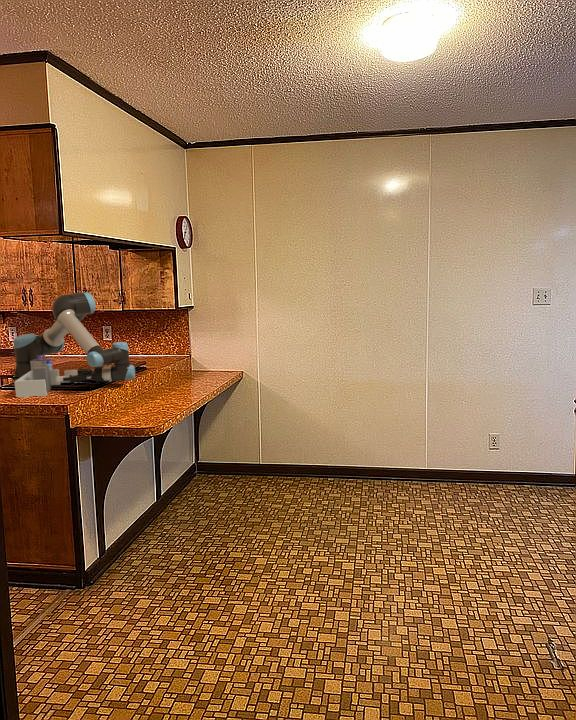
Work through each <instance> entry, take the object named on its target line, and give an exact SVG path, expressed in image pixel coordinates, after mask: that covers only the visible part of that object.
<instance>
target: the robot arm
mask: <svg viewBox="0 0 576 720" xmlns="http://www.w3.org/2000/svg"><path fill="white" fill-rule="evenodd" d="M51 308H52V309H51V312H52V314H53V317H54V319H55V322H54V323H53V324H52V325H51V327H50V328H47V329H45V330H43V331H44V332H43V333H42V334H38V335H36V334H35V333H28V334H27V333H26V334H22V335H18V336H16V337H15V338H14V339H13V350H14V357H15V369H14V374H13V376H14V377H19V378H21V377H22V376H24V375H25V374H27V373H28V372H30V371H31V363H30V361H31V360H34V359H38V357H39V355H45V356H47V355H54V354H57V353H60V352H61V351H63V350H64V348H65V336H67V334H68V333H69V334H70V335H71V336H72V338H73V339H74V340H75V342H76V343H77V344H78V345H79V347H80V348H81V349H82V350H83V351H84V353H85V354H86V357H85V358H86V362H87V364H88V366H89V367H91V368H90V369H89V368H79V369H70V370H69V369H65V370H63V372H64V373H63V375H61V376H60V375H59V376H57V382H60V383H63V382H64V383H66V382H70V383H76V382H82V381H83V382H85V381H91V380H92V379H94V380H95V382H96V383H98V382H99V383H100V382H109V383H111V382H113V381H114V382H115V381H132V380H134V379H135V378H136V368H135V366H134V365H133V364H130V354H129V353H130V352H129V351H130V350H129V345H128V343H127V342H125V341H116V342H113V343H112V347H111V348H110V347H109V348H106V349H105V348H103V347H101V345H100V344H99V343H98V342H97V340H96V339H95V338H94V337H93V336H92V334H91V332H89V331H88V330H87V328H86V327H85V326H84V325H83V323H82V322H81V321H82V320H83V319H84V318H86V316H87V315H93V314H94V313H95V310H96V301H95V299H94V297H93V295H92V293H89V292H83V291H82V292H79V293H77V292H76V293H69V294H68V293H67V294H61V295H59V296H57V298H56V299H54V301H53V303H52V307H51ZM111 364H113V365H111ZM107 365H108V366H107ZM19 378H14V380H15V381H16V380H18V379H19Z"/></svg>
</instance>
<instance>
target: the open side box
mask: <svg viewBox="0 0 576 720" xmlns="http://www.w3.org/2000/svg"><path fill="white" fill-rule="evenodd" d="M49 373H50V382H51V386H59V385H61V382H57V376H60V369H59V368H58V369H57V368H56V369H53V370H49ZM14 389H15V397H19V398H31V397H30V396H38V397H47V396H48V392H47V391H46V383H45V380H34V376H33V371H30V372H28V373H27V374H25V375H24V376H22V377H21V378H19V379H18V380H16V379H15V381H14ZM28 396H29V397H28Z"/></svg>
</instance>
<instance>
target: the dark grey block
mask: <svg viewBox="0 0 576 720" xmlns="http://www.w3.org/2000/svg"><path fill="white" fill-rule="evenodd" d="M33 376H34V380H45V383H46V391H47V393H48V392H49V391H51V389H52V385H51V382H50V373H49V366H36V367H35V368H33Z"/></svg>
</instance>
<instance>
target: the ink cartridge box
mask: <svg viewBox="0 0 576 720" xmlns="http://www.w3.org/2000/svg"><path fill="white" fill-rule="evenodd" d="M45 357H46V355H39V356H38V359H34V360H31V361H30V363H31V371H33V368H35V367H36V366H49V370H54V368H53V360H52V358H45Z"/></svg>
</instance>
